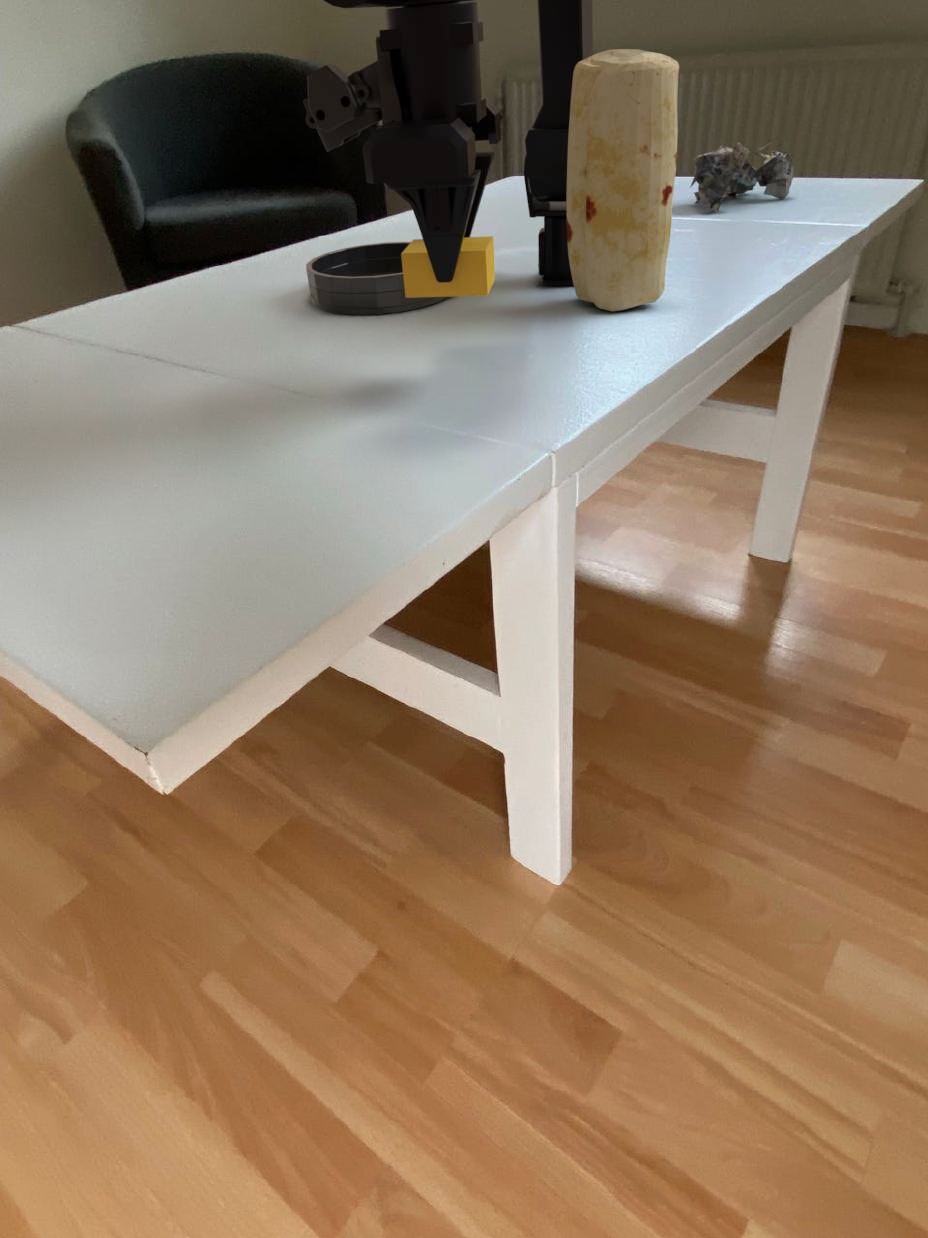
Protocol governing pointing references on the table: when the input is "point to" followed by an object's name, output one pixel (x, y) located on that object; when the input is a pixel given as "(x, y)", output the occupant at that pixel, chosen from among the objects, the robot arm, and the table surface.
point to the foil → (739, 175)
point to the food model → (621, 176)
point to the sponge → (468, 278)
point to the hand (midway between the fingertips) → (450, 273)
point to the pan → (362, 281)
